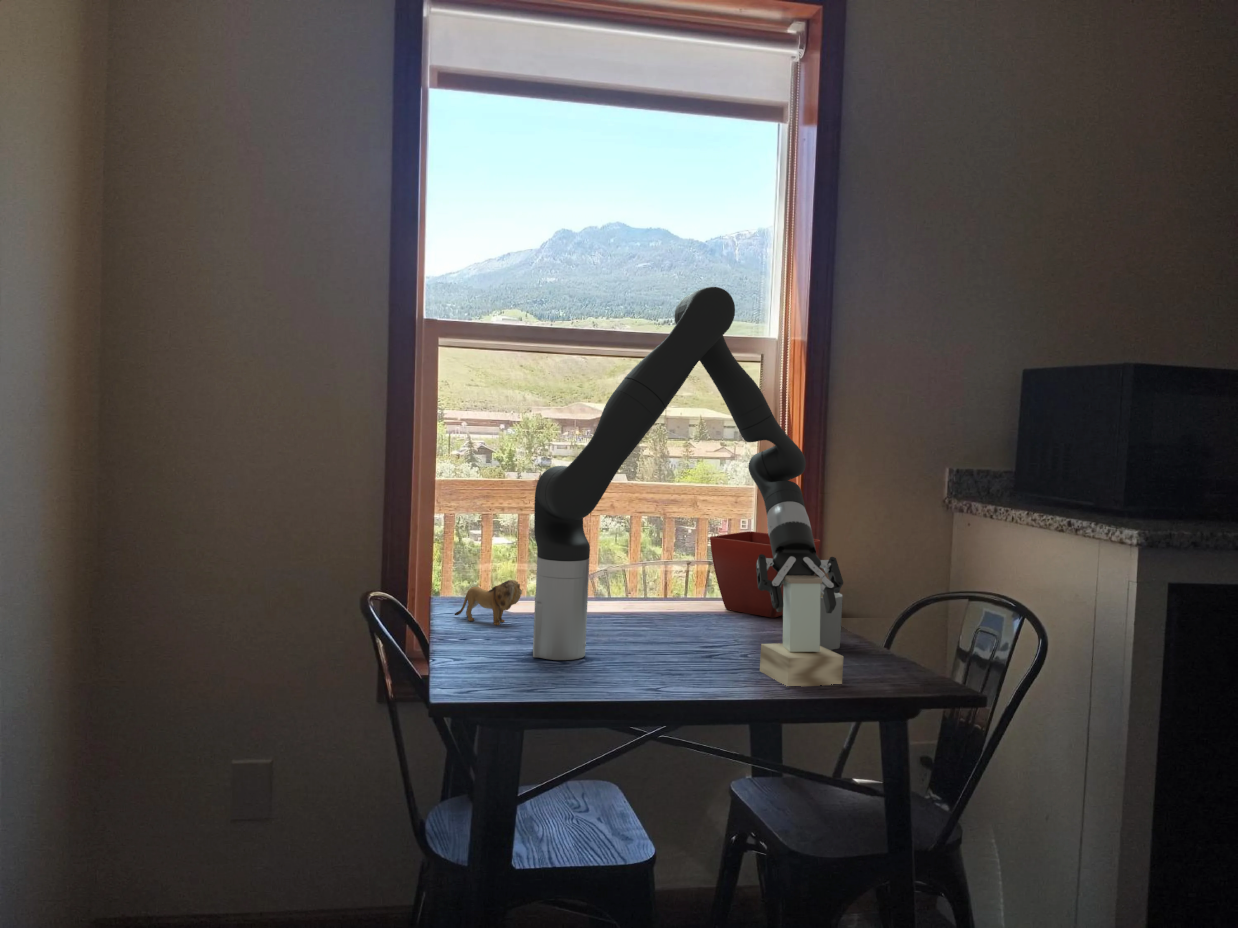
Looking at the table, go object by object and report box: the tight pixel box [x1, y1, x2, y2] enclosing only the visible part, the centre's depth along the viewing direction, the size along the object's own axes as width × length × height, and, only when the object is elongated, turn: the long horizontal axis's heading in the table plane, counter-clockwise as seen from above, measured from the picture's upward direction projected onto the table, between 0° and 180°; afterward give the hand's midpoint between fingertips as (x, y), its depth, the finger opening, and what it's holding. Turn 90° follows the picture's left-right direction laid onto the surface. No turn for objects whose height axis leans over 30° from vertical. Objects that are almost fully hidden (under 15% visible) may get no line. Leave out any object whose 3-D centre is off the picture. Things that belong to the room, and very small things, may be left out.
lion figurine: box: [454, 579, 523, 626], centre depth 192 cm, size 15×5×9 cm, turn 71°
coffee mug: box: [820, 592, 844, 651], centre depth 186 cm, size 13×10×10 cm
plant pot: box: [709, 530, 821, 618], centre depth 217 cm, size 19×19×17 cm
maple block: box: [759, 642, 844, 687], centre depth 159 cm, size 10×10×5 cm
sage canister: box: [782, 575, 822, 652], centre depth 159 cm, size 5×5×12 cm
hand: (805, 609), depth 157 cm, fingers open, 8 cm apart
